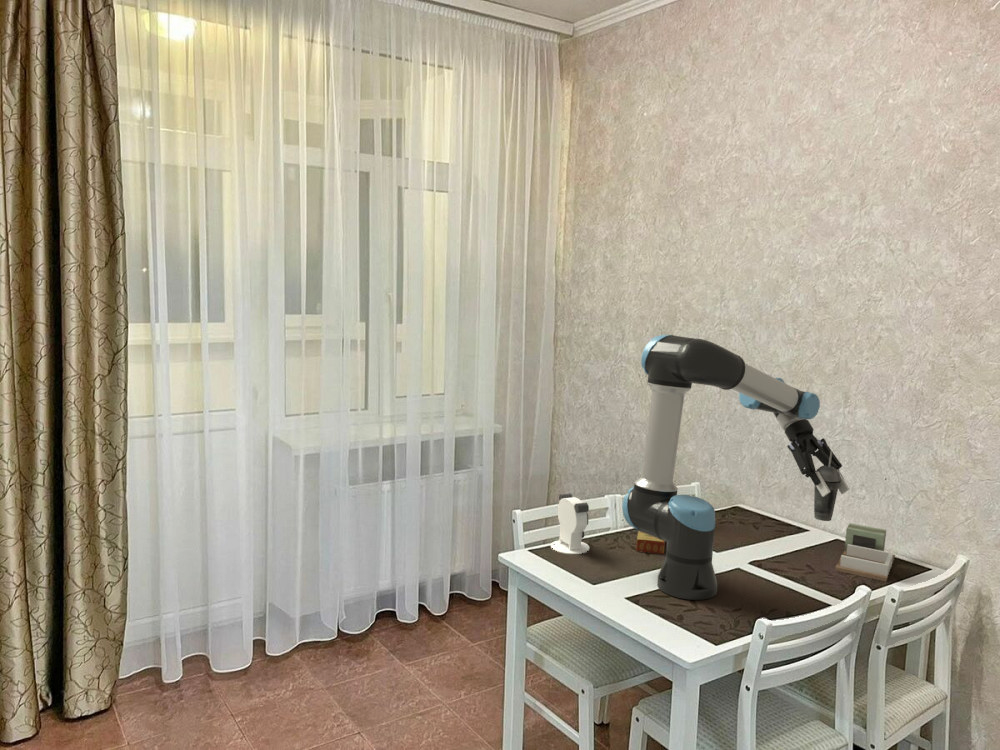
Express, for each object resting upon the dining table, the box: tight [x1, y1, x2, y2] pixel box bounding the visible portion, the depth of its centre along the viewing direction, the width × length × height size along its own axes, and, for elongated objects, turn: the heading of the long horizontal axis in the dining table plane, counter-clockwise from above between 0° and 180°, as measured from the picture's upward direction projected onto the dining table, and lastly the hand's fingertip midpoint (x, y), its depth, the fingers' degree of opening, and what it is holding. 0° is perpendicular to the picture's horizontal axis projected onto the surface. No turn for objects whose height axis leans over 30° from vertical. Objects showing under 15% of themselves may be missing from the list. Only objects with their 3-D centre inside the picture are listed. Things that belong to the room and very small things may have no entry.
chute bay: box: [840, 544, 894, 577], centre depth 221 cm, size 12×12×3 cm
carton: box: [635, 530, 666, 555], centre depth 235 cm, size 8×16×4 cm, turn 167°
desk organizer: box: [834, 522, 896, 582], centre depth 223 cm, size 22×13×8 cm, turn 148°
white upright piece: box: [550, 493, 590, 555], centre depth 228 cm, size 12×11×15 cm
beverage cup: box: [813, 450, 841, 522], centre depth 222 cm, size 7×7×20 cm
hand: (836, 492), depth 219 cm, fingers closed on beverage cup, 7 cm apart
